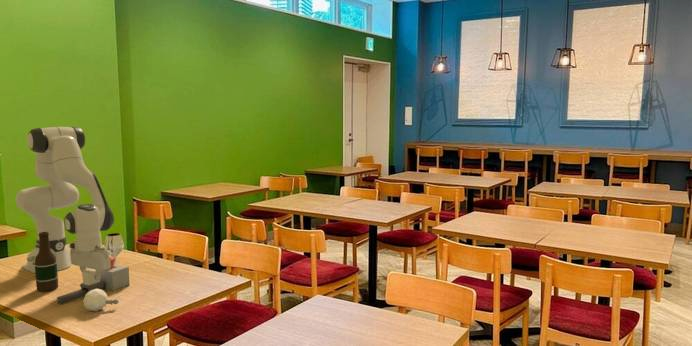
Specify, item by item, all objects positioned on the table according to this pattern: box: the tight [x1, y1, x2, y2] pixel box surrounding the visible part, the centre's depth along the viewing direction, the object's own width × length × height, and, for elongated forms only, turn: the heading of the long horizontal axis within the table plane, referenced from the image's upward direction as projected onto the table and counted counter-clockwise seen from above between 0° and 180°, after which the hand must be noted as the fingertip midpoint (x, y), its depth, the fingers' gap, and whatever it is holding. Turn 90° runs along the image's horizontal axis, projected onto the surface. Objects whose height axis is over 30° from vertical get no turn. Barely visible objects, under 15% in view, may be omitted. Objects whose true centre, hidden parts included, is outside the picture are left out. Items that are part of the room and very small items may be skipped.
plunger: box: [110, 256, 115, 269], centre depth 211 cm, size 4×4×9 cm
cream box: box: [79, 268, 104, 292], centre depth 203 cm, size 6×6×9 cm
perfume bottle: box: [83, 289, 119, 312], centre depth 186 cm, size 8×8×12 cm
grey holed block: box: [100, 263, 131, 292], centre depth 211 cm, size 12×8×8 cm, turn 63°
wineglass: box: [103, 232, 125, 264], centre depth 227 cm, size 8×8×18 cm
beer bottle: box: [34, 232, 59, 293], centre depth 206 cm, size 8×8×24 cm
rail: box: [56, 283, 106, 305], centre depth 199 cm, size 2×19×2 cm, turn 153°
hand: (91, 278), depth 203 cm, fingers open, 6 cm apart
